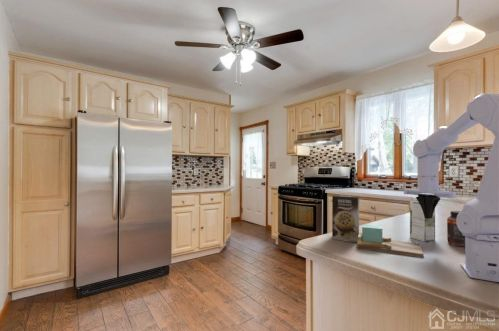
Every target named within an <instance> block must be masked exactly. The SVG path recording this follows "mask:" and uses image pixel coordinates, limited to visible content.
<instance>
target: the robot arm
mask: <svg viewBox="0 0 499 331" xmlns="http://www.w3.org/2000/svg"><path fill="white" fill-rule="evenodd" d="M478 124H479V125H481V126H482V127H484V128H485V129H486V130H487V131H490V132H491V133H492V134H493V135H494V140H493V142H492V147H491V149H490V152H489V155H488V158H487V161H486V164H485V168H484V172H483V173H482V178H481V180H480V184H479V186H478V190H477V193H476V195H475V197H474V198H473V199H471V200H469V201H467V202H466V203H464V204H463V208H462V209H461V212H460V213H459V214H458V215H457V218H456V224H457V227H458V229H459V230H460V232H461V233H462V235H464V236H465V248H464V249H465V251H464V253H465V259H464V260H465V263H464V262H463V263H462V262H460V266H461V267H462V268H463V270H464V272H466V274H467V275H468V277H469V278H470V279H471V278H472V279H477V280H484V281H489V282H495V283H496V282H497V283H499V93H488V92H486V93H485V92H484V93H480V94H477V96H475V97H474V98H473V99H472V100H470V101H469V102H468V103H467V105H466V110H464V111H463V112H462V113H461V114H460V115H459V116H457V118H456V119H455V120H453V122H451V123H450V124H449V125H448V126H445V125H444V126H438V127H437V128H436V129H435V131H434V132H432V133H431V134H430V135H428V136H427V137H426V138H425V139H418V140H416V141H415V143H414V144H413V147H412V152H413V155H414V157H415V158H417V159H416V160H417V161H416V163H417V164H416V165H417V168H416V170H417V173H416V174H417V188H403V195H413V196H416V197H415V198H416V199H415V200H417V201H418V202H419V204H420V206H421V208H422V210H423V214H424V217H425V218H427V219H431V218H432V216H433V212H434V210H435V211H436V208H437V206H438V203H439V202H440V201H441V198H449V199H456V198H457V191H452V190H451V191H449V190H440V173H439V172H440V170H439V169H440V164H439V163H440V162H441V160H442V159H441V158H442V156H443V152H444V150H445V149H447V148H448V147H450V146H452V145H453V144H454V143H456V142H457V141H458V139H459V135H460V134H462V133H464V132H466V131H467V130H469V129H471V128H472V127H475V126H476V125H478Z"/></svg>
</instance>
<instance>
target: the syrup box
mask: <svg viewBox="0 0 499 331" xmlns="http://www.w3.org/2000/svg"><path fill="white" fill-rule="evenodd" d="M409 238H411V239H413V240H417V241H422V242H431V241H435V240H436V209H435V210H434V212H433V216H432V218H431V219H427V218H425V217H424V214H423V210H422V208H421V206H420V204H419V202H418V201H417V199H410V201H409Z"/></svg>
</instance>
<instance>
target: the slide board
mask: <svg viewBox="0 0 499 331" xmlns="http://www.w3.org/2000/svg"><path fill="white" fill-rule="evenodd" d="M357 249H360V250H368V251H374V252H381V253H389V254H395V255H403V256H409V257H418V258H423V259H424V257H425V256H424V251H423V249H422V247H421V244H420V243H418V242H410V241H400V240H394V239H392V237H383V236H382V243H377V242H369V241H362V230H359V235H358V242H357Z"/></svg>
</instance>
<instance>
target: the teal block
mask: <svg viewBox="0 0 499 331" xmlns="http://www.w3.org/2000/svg"><path fill="white" fill-rule="evenodd" d="M361 229H362V230H361V231H362V241H369V242H377V243H382V237H383V225H373V224H362V226H361Z"/></svg>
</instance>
